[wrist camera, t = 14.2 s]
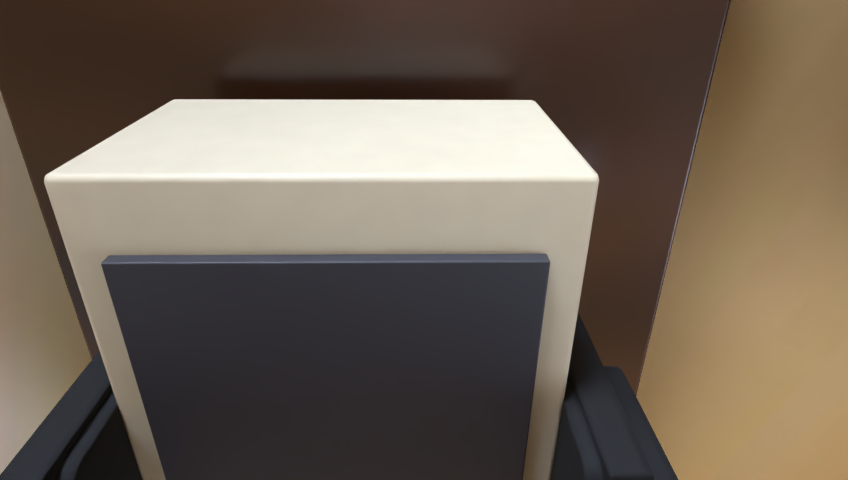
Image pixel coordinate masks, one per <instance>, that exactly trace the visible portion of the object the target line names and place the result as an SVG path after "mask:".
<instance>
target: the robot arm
mask: <svg viewBox="0 0 848 480" xmlns="http://www.w3.org/2000/svg"><path fill="white" fill-rule="evenodd" d="M0 480H142V477H141V474H140V471H139V468H138V465H137V462H136V459H135V456H134V452H133V449H132V446H131V443H130V440H129V437H128V434H127V431H126V428H125V425H124V422H123V419H122V416H121V413H120V410H119V407H118V405H117V402H116V399H115V396H114V393H113V390H112V387H111V384H110V381H109V378H108V375H107V372H106V369H105V366H104V363H103V359H102V356H101V353H100V351H99V352H98V353H97V354H96V356H95V357H94V358H93V359H92V361H91V362H90V363H89V365H88V366H87V367H86V368H85V370H84V371H83V372H82V373H81V375H80V376H79V377H78V378H77V380H76V381H75V382H74V383H73V385H72V386H71V387H70V388H69V390H68V391H67V392H66V393H65V395H64V396H63V397H62V398H61V400H60V401H59V402H58V403H57V405H56V406H55V407H54V408H53V410H52V411H51V412H50V413H49V415H48V416H47V417H46V418H45V420H44V421H43V422H42V423H41V425H40V426H39V427H38V429H37V430H36V431H35V432H34V434H33V435H32V436H31V437H30V439H29V440H28V441H27V442H26V444H25V445H24V446H23V447H22V449H21V450H20V451H19V452H18V454H17V455H16V456H15V457H14V459H13V460H12V461H11V462H10V464H9V465H8V466H7V467H6V469H5V470H4V471H3V472H2V474H1V475H0ZM550 480H678V478H677V476H676V474H675V472H674V471H673V469H672V467H671V465H670V463H669V461H668V459H667V457H666V455H665V453H664V451H663V449H662V447H661V445H660V443H659V441H658V439H657V437H656V435H655V433H654V431H653V429H652V427H651V425H650V423H649V421H648V419H647V417H646V415H645V413H644V412H643V410H642V408H641V406H640V404H639V402H638V400H637V398H636V396H635V394H634V392H633V390H632V388H631V386H630V384H629V382H628V380H627V378H626V376H625V374H624V373H623V371H622V370H621V369H620V368H619V367H617V366H603V364H602V362H601V360H600V358H599V356H598V353H597V351H596V349H595V347H594V345H593V343H592V341H591V338H590V336H589V334H588V332H587V330H586V328H585V326H584V323H583V321H582V319H581V317H580V315H579V313H578V315H577V321H576V327H575V333H574V340H573V346H572V352H571V358H570V365H569V371H568V377H567V383H566V389H565V396H564V400H563V405H562V411H561V417H560V423H559V429H558V436H557V442H556V448H555V454H554V461H553V467H552V473H551V479H550Z"/></svg>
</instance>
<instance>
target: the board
mask: <svg viewBox="0 0 848 480" xmlns="http://www.w3.org/2000/svg"><path fill="white" fill-rule="evenodd" d="M729 5H730V0H0V91H1V94H2V97H3V100H4V103H5V105H6V108H7V111H8V114H9V117H10V120H11V123H12V126H13V129H14V132H15V135H16V138H17V141H18V144H19V147H20V150H21V152H22V155H23V158H24V161H25V164H26V167H27V170H28V173H29V176H30V179H31V182H32V185H33V188H34V191H35V194H36V197H37V200H38V202H39V205H40V208H41V211H42V214H43V217H44V220H45V223H46V226H47V229H48V232H49V235H50V238H51V241H52V244H53V247H54V249H55V252H56V255H57V258H58V261H59V264H60V267H61V270H62V273H63V276H64V279H65V282H66V285H67V288H68V291H69V294H70V297H71V299H72V302H73V305H74V308H75V311H76V314H77V317H78V320H79V323H80V326H81V329H82V332H83V335H84V338H85V341H86V344H87V346H88V349H89V352H90V355H91V358H92V359H93V358H94V357H95V356H96V354H97V353H98V352H99V351H100V350H99V347H98V344H97V341H96V338H95V335H94V332H93V329H92V326H91V323H90V320H89V317H88V314H87V311H86V308H85V305H84V302H83V299H82V296H81V293H80V290H79V287H78V284H77V281H76V278H75V275H74V272H73V268H72V265H71V262H70V259H69V256H68V253H67V250H66V247H65V244H64V241H63V238H62V235H61V232H60V229H59V226H58V223H57V220H56V217H55V214H54V211H53V208H52V205H51V202H50V199H49V196H48V193H47V190H46V187H45V184H44V177H45V175H46V174H48V173H50V172H51V171H53V170H55V169H57V168H58V167H60V166H62V165H63V164H65V163H67V162H68V161H70V160H72V159H73V158H75V157H77V156H79V155H80V154H82V153H84V152H85V151H87V150H89V149H90V148H92V147H94V146H95V145H97V144H99V143H101V142H102V141H104V140H106V139H107V138H109V137H111V136H112V135H114V134H116V133H117V132H119V131H121V130H123V129H124V128H126V127H128V126H129V125H131V124H133V123H134V122H136V121H138V120H139V119H141V118H143V117H145V116H146V115H148V114H150V113H151V112H153V111H155V110H156V109H158V108H160V107H161V106H163V105H165V104H167V103H168V102H170V101H172V100H174V99H262V100H533V101H535V102H536V103H537V104H538V105H539V106H540V107H541V109H542V110H543V111H544V112H545V113H546V115H547V116H548V117H549V118H550V119H551V120H552V122H553V123H554V124H555V125H556V126H557V127H558V129H559V130H560V131H561V132H562V133H563V134H564V136H565V137H566V138H567V139H568V140H569V141H570V143H571V144H572V145H573V146H574V147H575V148H576V150H577V151H578V152H579V153H580V154H581V155H582V157H583V158H584V159H585V160H586V161H587V162H588V164H589V165H590V166H591V167H592V168H593V169H594V171H595V172H596V173H597V174H598V177H599V185H598V191H597V197H596V203H595V209H594V216H593V222H592V228H591V234H590V240H589V247H588V253H587V259H586V265H585V271H584V278H583V284H582V290H581V296H580V302H579V309H578V313H579V315H580V317H581V319H582V321H583V323H584V326H585V328H586V330H587V332H588V334H589V336H590V338H591V341H592V343H593V345H594V347H595V349H596V351H597V353H598V356H599V358H600V360H601V362H602V364H603V366H617V367H619V368H620V369H621V370H622V371H623V373H624V374H625V376H626V378H627V380H628V382H629V384H630V386H631V388H632V390H633V392H634V394H635V396H636V394H637V390H638V386H639V381H640V377H641V373H642V369H643V365H644V361H645V356H646V352H647V348H648V344H649V340H650V335H651V331H652V327H653V323H654V319H655V314H656V310H657V306H658V302H659V298H660V294H661V289H662V285H663V281H664V277H665V273H666V268H667V264H668V260H669V256H670V252H671V247H672V243H673V239H674V235H675V231H676V227H677V222H678V218H679V214H680V210H681V206H682V201H683V197H684V193H685V189H686V185H687V180H688V176H689V172H690V168H691V164H692V160H693V155H694V151H695V147H696V143H697V139H698V134H699V130H700V126H701V122H702V118H703V114H704V109H705V105H706V101H707V97H708V93H709V88H710V84H711V80H712V76H713V72H714V67H715V63H716V59H717V55H718V51H719V47H720V42H721V38H722V34H723V30H724V26H725V21H726V17H727V13H728V9H729Z"/></svg>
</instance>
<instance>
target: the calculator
mask: <svg viewBox="0 0 848 480" xmlns="http://www.w3.org/2000/svg"><path fill="white" fill-rule="evenodd" d="M44 184H45V187H46V190H47V193H48V196H49V199H50V202H51V205H52V208H53V211H54V214H55V217H56V220H57V223H58V226H59V229H60V232H61V235H62V238H63V241H64V244H65V247H66V250H67V253H68V256H69V259H70V262H71V265H72V268H73V272H74V275H75V278H76V281H77V284H78V287H79V290H80V293H81V296H82V299H83V302H84V305H85V308H86V311H87V314H88V317H89V320H90V323H91V326H92V329H93V332H94V335H95V338H96V341H97V344H98V347H99V350H100V353H101V356H102V359H103V363H104V366H105V369H106V372H107V375H108V378H109V381H110V384H111V387H112V390H113V393H114V396H115V399H116V402H117V405H118V407H119V410H120V413H121V416H122V419H123V422H124V425H125V428H126V431H127V434H128V437H129V440H130V443H131V446H132V449H133V452H134V456H135V459H136V462H137V465H138V468H139V471H140V474H141V477H142V480H550V479H551V473H552V467H553V461H554V454H555V448H556V442H557V436H558V429H559V423H560V417H561V411H562V405H563V400H564V396H565V389H566V383H567V377H568V371H569V365H570V358H571V352H572V346H573V340H574V333H575V327H576V321H577V315H578V309H579V302H580V296H581V290H582V284H583V278H584V271H585V265H586V259H587V253H588V247H589V240H590V234H591V228H592V222H593V216H594V209H595V203H596V197H597V191H598V185H599V177H598V174H597V173H596V172H595V171H594V169H593V168H592V167H591V166H590V165H589V164H588V162H587V161H586V160H585V159H584V158H583V157H582V155H581V154H580V153H579V152H578V151H577V150H576V148H575V147H574V146H573V145H572V144H571V143H570V141H569V140H568V139H567V138H566V137H565V136H564V134H563V133H562V132H561V131H560V130H559V129H558V127H557V126H556V125H555V124H554V123H553V122H552V120H551V119H550V118H549V117H548V116H547V115H546V113H545V112H544V111H543V110H542V109H541V107H540V106H539V105H538V104H537V103H536V102H535V101H533V100H262V99H174V100H172V101H170V102H168V103H167V104H165V105H163V106H161V107H160V108H158V109H156V110H155V111H153V112H151V113H150V114H148V115H146V116H145V117H143V118H141V119H139V120H138V121H136V122H134V123H133V124H131V125H129V126H128V127H126V128H124V129H123V130H121V131H119V132H117V133H116V134H114V135H112V136H111V137H109V138H107V139H106V140H104V141H102V142H101V143H99V144H97V145H95V146H94V147H92V148H90V149H89V150H87V151H85V152H84V153H82V154H80V155H79V156H77V157H75V158H73V159H72V160H70V161H68V162H67V163H65V164H63V165H62V166H60V167H58V168H57V169H55V170H53V171H51V172H50V173H48V174H46V175H45V177H44Z"/></svg>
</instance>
